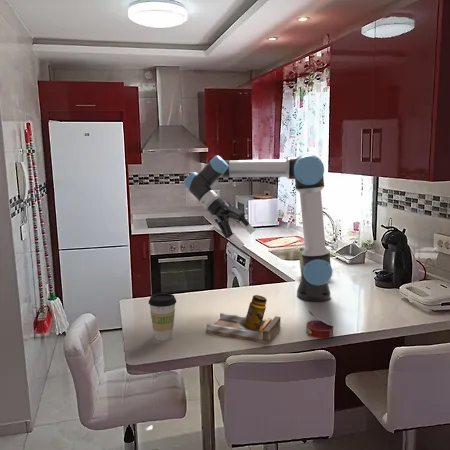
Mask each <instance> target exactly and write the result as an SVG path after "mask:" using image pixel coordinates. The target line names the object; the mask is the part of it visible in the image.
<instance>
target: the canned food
mask: <svg viewBox="0 0 450 450" xmlns="http://www.w3.org/2000/svg"><path fill="white" fill-rule="evenodd" d="M308 312H309V314H310V315H312V316H313V317H315V318H316V319H317V320H310V321H308V322H306V330H305V331H306V334H307V335H308V336H310V337H312V338H317V339H329V338H331V337H333V336H334V327H335V326H334V324H332V323H331V322H329V321H326V320H324V319H322V318H320V317H318V316H316V315H315V314H314V313H312V311H310V310H308Z"/></svg>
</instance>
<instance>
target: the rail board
mask: <svg viewBox="0 0 450 450" xmlns="http://www.w3.org/2000/svg"><path fill="white" fill-rule="evenodd" d="M281 319H282V318H281V316H277V315H276V316H274V317H273V318H272V321H271V322H270V323H269V324H268V326H267V327H266V328H265V329H264V330H263V333H262V332H256V331H250V330H246V329H241V328H240V327H239V325H238V321H241V322H245V320H246V315H245V316H244V315H237V314H231V313H223V312H220V313H219V319H218V320H216V321H215V322H214V323H207V324H206V330H205V334H211V335H216V336H217V335H218V336H223V337H228V338H234V339H241V340H245V341H251V342H256V343H263V344H270V342H271V340H272V341H273V338H274V337H275V336H276V334H278V332H279V330H280V329H281ZM266 320H267V319H264V318H263V320H262V324H261V326H262V325H263V324H264V323H265V321H266Z"/></svg>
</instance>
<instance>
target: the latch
mask: <svg viewBox="0 0 450 450" xmlns="http://www.w3.org/2000/svg"><path fill="white" fill-rule="evenodd" d="M265 320H266V321H265V323H264V324H263V325H262V326H261V327H260V332H262V333H263V330H264V329H265V328H266V327H267V326H268V324H269V323H270V322H271V321H272V320H273V318H271V317H270V318H269V317H268V318H267V319H265Z"/></svg>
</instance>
